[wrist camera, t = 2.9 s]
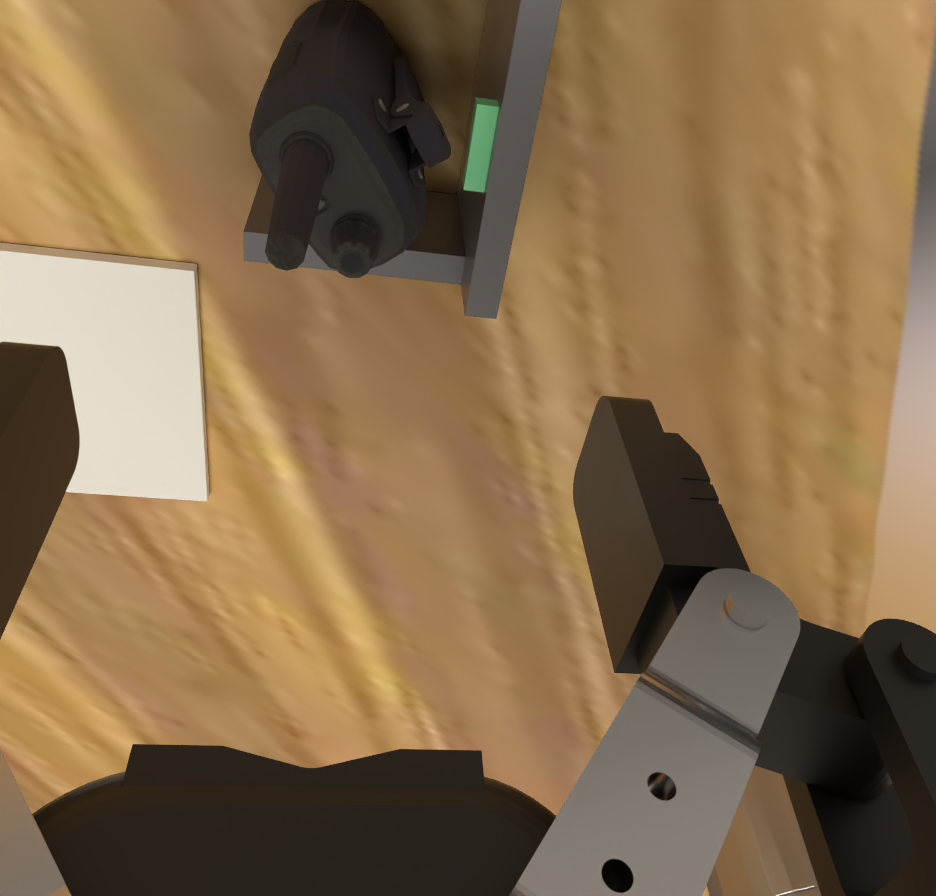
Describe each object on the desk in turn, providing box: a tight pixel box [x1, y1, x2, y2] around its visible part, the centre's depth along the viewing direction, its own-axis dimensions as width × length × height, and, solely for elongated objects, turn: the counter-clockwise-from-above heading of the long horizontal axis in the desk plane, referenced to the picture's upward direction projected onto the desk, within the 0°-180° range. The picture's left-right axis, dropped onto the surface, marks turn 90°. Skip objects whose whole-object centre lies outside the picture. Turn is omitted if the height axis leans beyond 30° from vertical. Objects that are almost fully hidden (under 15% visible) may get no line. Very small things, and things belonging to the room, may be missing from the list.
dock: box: [244, 0, 562, 319], centre depth 25 cm, size 8×10×7 cm
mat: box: [0, 243, 210, 501], centre depth 34 cm, size 14×12×1 cm
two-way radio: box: [249, 0, 451, 278], centre depth 22 cm, size 6×4×15 cm
